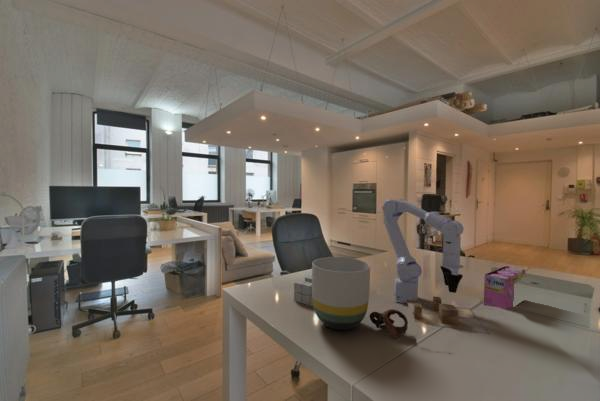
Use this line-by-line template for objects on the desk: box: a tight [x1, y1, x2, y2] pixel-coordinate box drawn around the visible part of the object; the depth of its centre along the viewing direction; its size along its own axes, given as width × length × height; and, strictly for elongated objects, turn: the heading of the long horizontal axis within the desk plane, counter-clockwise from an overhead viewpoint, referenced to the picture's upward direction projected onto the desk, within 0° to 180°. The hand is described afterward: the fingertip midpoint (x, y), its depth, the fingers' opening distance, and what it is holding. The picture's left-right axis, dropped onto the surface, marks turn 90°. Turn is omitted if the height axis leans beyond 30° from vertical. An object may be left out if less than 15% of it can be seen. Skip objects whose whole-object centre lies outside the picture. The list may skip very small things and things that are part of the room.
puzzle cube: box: [293, 275, 314, 308], centre depth 116 cm, size 12×12×8 cm
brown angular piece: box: [412, 302, 459, 328], centre depth 96 cm, size 14×8×5 cm, turn 73°
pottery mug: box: [369, 308, 409, 339], centre depth 90 cm, size 12×10×8 cm
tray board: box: [422, 302, 491, 335], centre depth 98 cm, size 17×20×2 cm
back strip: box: [431, 296, 478, 319], centre depth 103 cm, size 14×8×5 cm, turn 73°
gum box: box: [483, 266, 526, 310], centre depth 115 cm, size 24×8×14 cm, turn 125°
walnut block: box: [438, 303, 459, 327], centre depth 95 cm, size 5×5×5 cm
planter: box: [311, 256, 371, 331], centre depth 93 cm, size 20×20×21 cm
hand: (450, 288), depth 103 cm, fingers open, 7 cm apart
